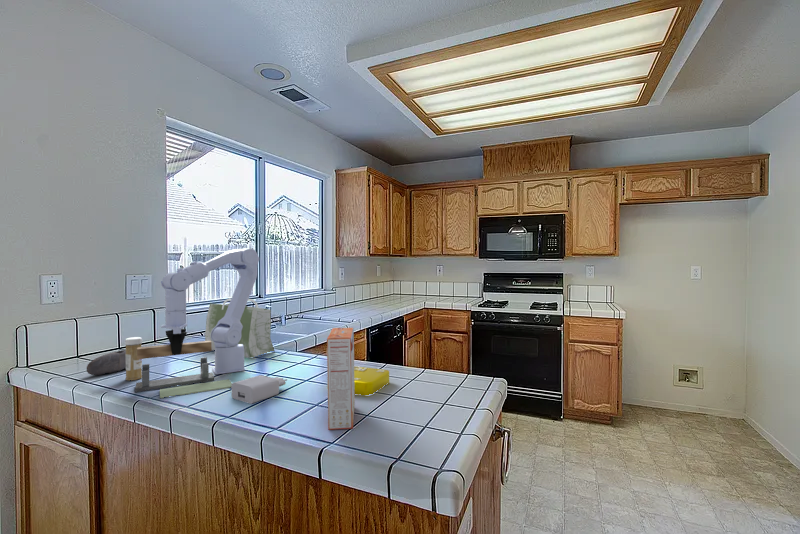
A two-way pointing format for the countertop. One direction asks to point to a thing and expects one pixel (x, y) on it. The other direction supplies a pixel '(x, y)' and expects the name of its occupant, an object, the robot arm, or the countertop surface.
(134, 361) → the sprinkles bottle
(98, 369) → the perforated stone tool
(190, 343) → the rail
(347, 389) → the cracker box
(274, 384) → the charger
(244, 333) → the grocery bag
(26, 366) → the countertop surface
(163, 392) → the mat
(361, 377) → the element tile
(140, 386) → the rail rack
